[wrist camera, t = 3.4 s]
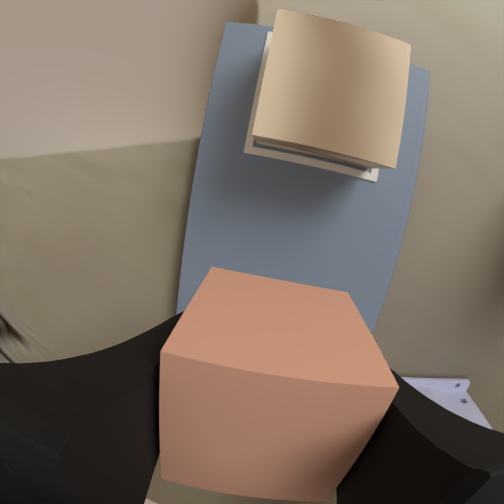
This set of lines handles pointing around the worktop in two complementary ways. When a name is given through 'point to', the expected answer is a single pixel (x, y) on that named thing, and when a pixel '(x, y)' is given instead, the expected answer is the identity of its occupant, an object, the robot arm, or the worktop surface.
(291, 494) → the terracotta block
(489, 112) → the worktop surface
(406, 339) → the worktop surface
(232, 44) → the board
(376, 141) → the block
